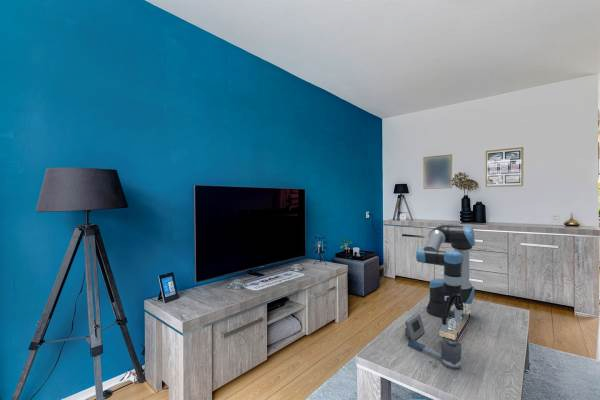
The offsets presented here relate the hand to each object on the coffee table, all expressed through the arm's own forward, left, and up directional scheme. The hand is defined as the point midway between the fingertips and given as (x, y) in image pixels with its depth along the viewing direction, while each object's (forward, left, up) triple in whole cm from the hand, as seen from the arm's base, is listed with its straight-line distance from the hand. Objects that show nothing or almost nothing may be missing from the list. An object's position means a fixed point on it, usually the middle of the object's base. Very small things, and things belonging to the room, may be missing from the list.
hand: (451, 326), depth 136 cm
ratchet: (0, -9, -19) cm, 21 cm away
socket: (0, 0, -16) cm, 16 cm away
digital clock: (-11, -25, -19) cm, 34 cm away
